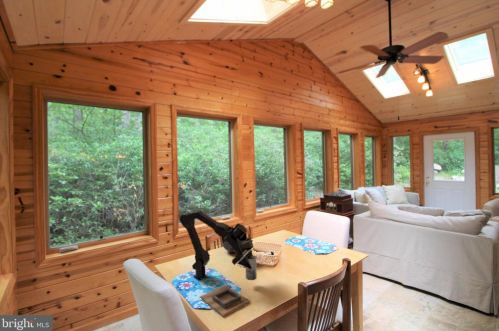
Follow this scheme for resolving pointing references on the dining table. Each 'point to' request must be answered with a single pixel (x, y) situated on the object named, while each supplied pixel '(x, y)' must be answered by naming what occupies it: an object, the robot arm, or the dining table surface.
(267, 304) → the dining table surface
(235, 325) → the dining table surface
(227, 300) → the walnut board
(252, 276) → the steel hub
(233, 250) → the coal bowl
